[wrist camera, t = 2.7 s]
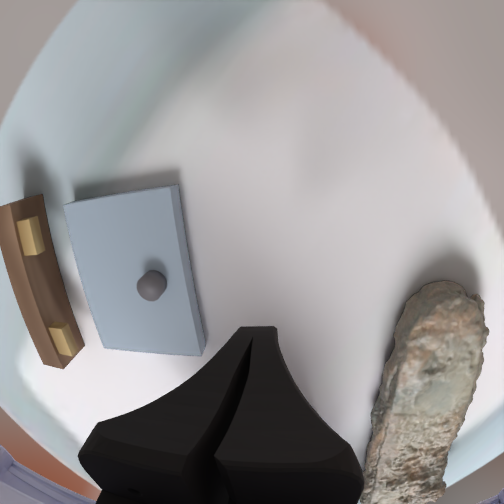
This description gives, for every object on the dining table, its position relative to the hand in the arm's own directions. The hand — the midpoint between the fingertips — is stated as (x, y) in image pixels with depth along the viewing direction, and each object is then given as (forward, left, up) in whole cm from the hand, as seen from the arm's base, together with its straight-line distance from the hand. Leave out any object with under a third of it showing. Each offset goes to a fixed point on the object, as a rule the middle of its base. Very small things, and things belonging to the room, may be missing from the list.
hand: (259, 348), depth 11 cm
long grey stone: (-12, +19, -8) cm, 24 cm away
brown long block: (+18, 0, -8) cm, 19 cm away
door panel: (+9, 0, -8) cm, 12 cm away
